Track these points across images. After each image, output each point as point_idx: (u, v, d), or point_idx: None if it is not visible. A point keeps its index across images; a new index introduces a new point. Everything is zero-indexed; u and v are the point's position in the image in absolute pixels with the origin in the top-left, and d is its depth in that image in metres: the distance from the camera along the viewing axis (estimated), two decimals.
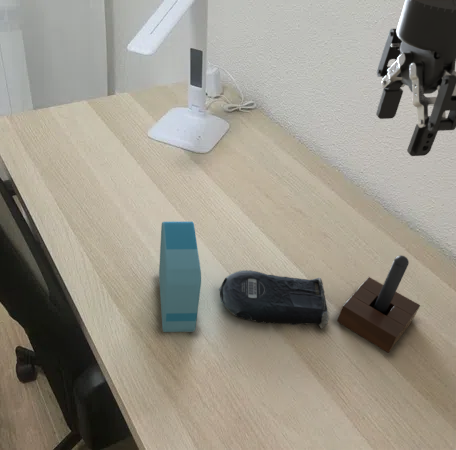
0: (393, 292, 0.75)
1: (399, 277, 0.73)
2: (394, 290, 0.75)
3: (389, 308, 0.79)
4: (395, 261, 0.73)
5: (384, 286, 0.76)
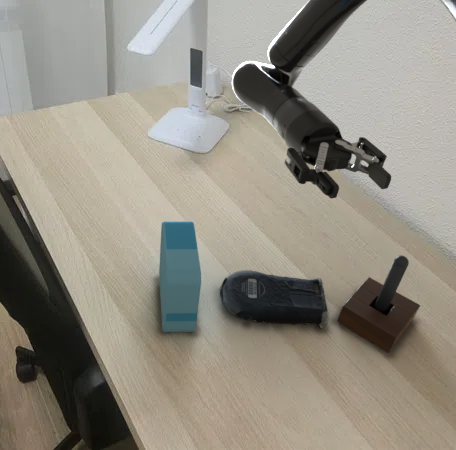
0: (393, 292, 0.75)
1: (399, 277, 0.73)
2: (394, 290, 0.75)
3: (389, 308, 0.79)
4: (395, 261, 0.73)
5: (384, 286, 0.76)
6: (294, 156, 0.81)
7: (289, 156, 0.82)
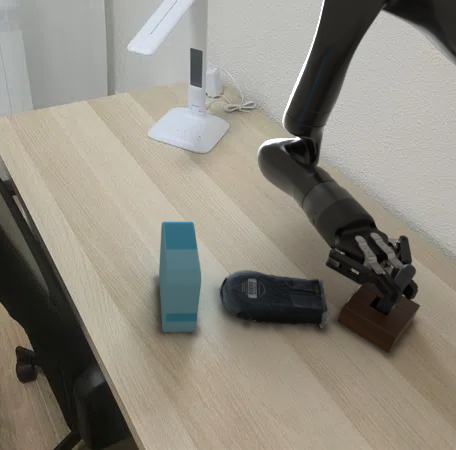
0: None
1: (405, 285, 0.73)
2: None
3: None
4: (402, 270, 0.71)
5: None
6: (343, 258, 0.76)
7: (336, 260, 0.77)
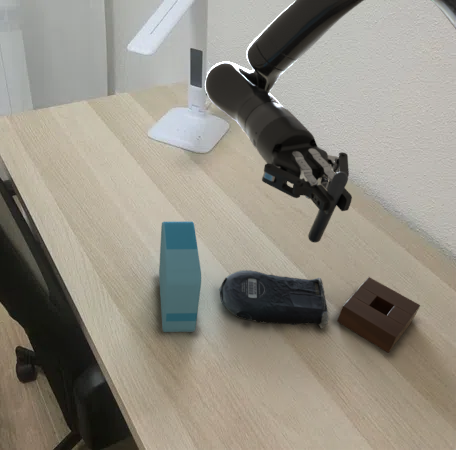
0: None
1: (337, 194, 0.70)
2: None
3: (389, 308, 0.79)
4: (334, 177, 0.69)
5: None
6: (278, 171, 0.74)
7: (271, 173, 0.75)
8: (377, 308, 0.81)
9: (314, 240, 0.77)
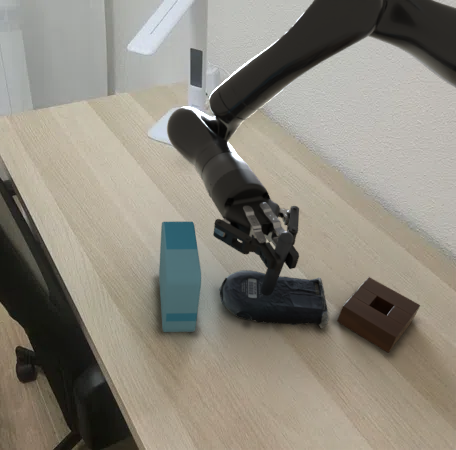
0: None
1: (284, 253, 0.71)
2: None
3: (389, 308, 0.79)
4: (280, 237, 0.70)
5: None
6: (227, 228, 0.75)
7: (221, 229, 0.75)
8: (377, 308, 0.81)
9: (266, 294, 0.78)
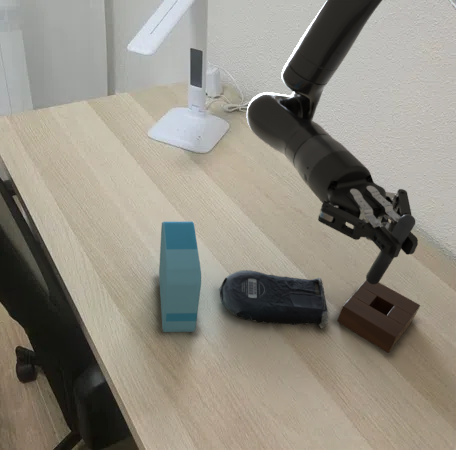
0: None
1: (403, 238, 0.67)
2: None
3: (389, 308, 0.79)
4: (401, 220, 0.66)
5: None
6: (337, 211, 0.71)
7: (329, 213, 0.71)
8: (377, 308, 0.81)
9: (373, 282, 0.74)
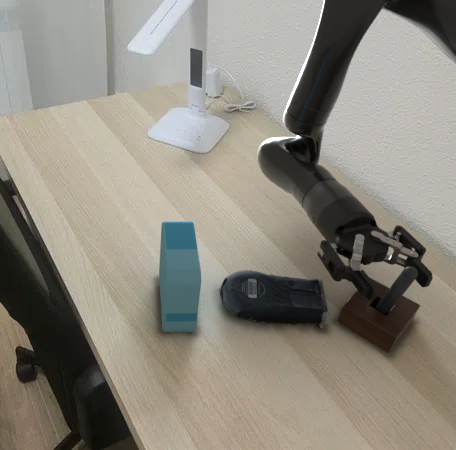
0: (397, 299, 0.75)
1: (406, 287, 0.72)
2: (398, 297, 0.74)
3: None
4: (404, 272, 0.71)
5: (389, 293, 0.75)
6: (329, 250, 0.77)
7: (323, 250, 0.78)
8: None
9: None
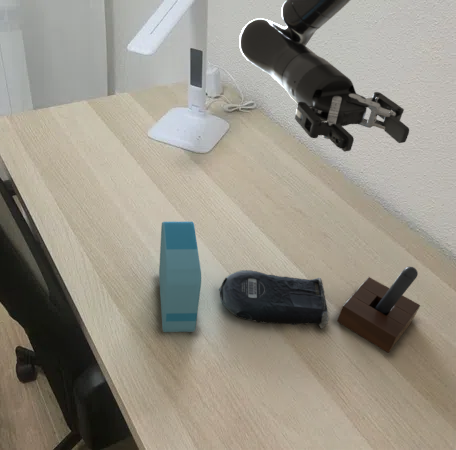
0: (397, 299, 0.75)
1: (406, 287, 0.72)
2: (398, 298, 0.74)
3: None
4: (404, 272, 0.71)
5: (389, 293, 0.75)
6: (305, 109, 0.77)
7: (300, 110, 0.77)
8: None
9: None
